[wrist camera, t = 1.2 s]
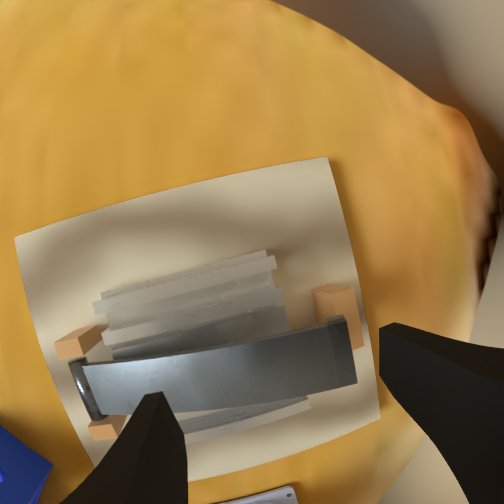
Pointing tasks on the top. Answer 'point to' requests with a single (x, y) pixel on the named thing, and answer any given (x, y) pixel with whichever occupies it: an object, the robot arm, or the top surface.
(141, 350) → the heat sink
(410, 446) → the top surface
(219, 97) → the top surface
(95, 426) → the lugs
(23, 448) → the bracket
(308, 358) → the retention strap
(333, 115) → the top surface
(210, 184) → the board
